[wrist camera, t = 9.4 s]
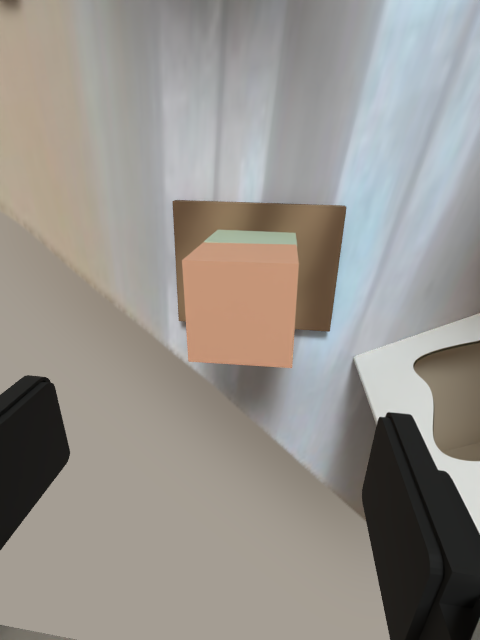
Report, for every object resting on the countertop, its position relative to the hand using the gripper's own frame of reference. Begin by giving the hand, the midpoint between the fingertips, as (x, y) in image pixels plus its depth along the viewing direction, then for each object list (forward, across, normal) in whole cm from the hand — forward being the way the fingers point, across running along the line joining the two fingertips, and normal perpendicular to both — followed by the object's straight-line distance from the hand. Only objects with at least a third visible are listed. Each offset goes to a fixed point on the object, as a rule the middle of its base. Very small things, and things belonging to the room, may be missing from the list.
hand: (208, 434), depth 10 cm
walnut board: (+21, +1, +1) cm, 21 cm away
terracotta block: (+15, +1, 0) cm, 15 cm away
